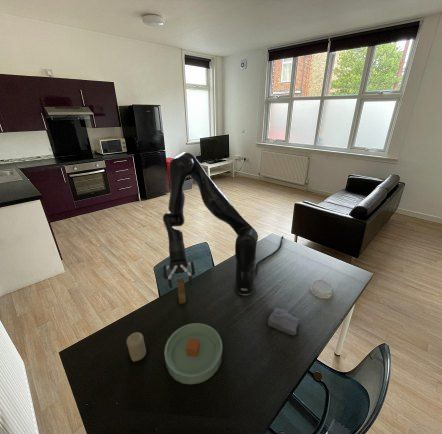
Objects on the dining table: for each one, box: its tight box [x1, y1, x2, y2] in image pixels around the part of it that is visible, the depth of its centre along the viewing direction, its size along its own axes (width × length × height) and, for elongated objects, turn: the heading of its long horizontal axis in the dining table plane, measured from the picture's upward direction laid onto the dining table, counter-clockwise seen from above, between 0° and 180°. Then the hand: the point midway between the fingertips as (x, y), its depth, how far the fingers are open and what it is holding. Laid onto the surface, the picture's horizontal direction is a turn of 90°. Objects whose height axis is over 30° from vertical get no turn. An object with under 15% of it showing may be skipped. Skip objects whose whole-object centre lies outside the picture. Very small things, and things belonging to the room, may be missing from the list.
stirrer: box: [176, 277, 187, 305], centre depth 109 cm, size 3×3×12 cm
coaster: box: [310, 279, 334, 300], centre depth 117 cm, size 10×10×4 cm
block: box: [186, 339, 200, 357], centre depth 87 cm, size 4×4×4 cm
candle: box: [126, 331, 147, 363], centre depth 85 cm, size 6×6×10 cm
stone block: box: [267, 307, 300, 336], centre depth 100 cm, size 12×5×10 cm
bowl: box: [163, 322, 223, 385], centre depth 86 cm, size 20×20×5 cm
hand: (180, 286), depth 109 cm, fingers open, 8 cm apart
